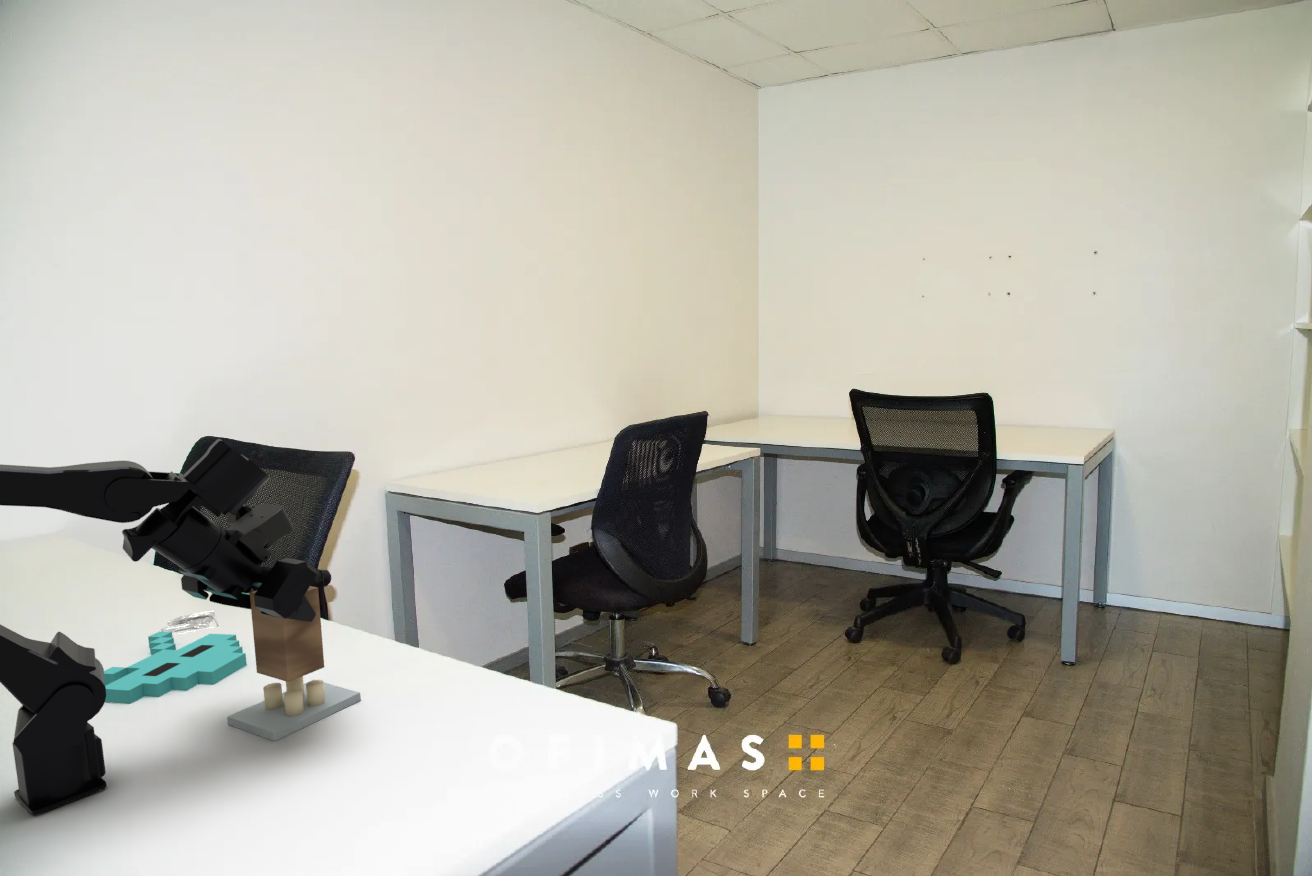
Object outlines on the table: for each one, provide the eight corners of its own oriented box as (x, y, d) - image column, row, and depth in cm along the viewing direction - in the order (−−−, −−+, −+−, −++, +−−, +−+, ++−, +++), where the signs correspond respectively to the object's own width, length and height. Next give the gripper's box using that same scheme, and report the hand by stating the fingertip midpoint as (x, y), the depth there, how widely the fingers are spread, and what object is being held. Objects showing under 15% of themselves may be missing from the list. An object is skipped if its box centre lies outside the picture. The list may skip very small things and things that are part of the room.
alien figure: (43, 701, 111) (176, 709, 107) (41, 685, 111) (174, 693, 107) (161, 645, 131) (276, 650, 127) (159, 631, 131) (275, 636, 126)
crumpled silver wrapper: (214, 618, 143) (213, 610, 143) (219, 630, 137) (218, 621, 137) (160, 628, 139) (159, 620, 139) (163, 641, 133) (162, 632, 133)
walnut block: (287, 682, 100) (280, 599, 99) (256, 672, 103) (249, 592, 102) (324, 667, 104) (318, 587, 103) (293, 658, 107) (286, 581, 106)
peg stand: (274, 741, 97) (271, 711, 96) (227, 724, 102) (225, 696, 101) (360, 700, 107) (358, 673, 107) (314, 686, 112) (312, 661, 111)
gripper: (295, 491, 92) (382, 566, 103) (196, 480, 102) (286, 549, 113) (233, 581, 87) (332, 650, 97) (135, 560, 97) (235, 625, 107)
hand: (296, 614), depth 104 cm, fingers closed on walnut block, 6 cm apart
